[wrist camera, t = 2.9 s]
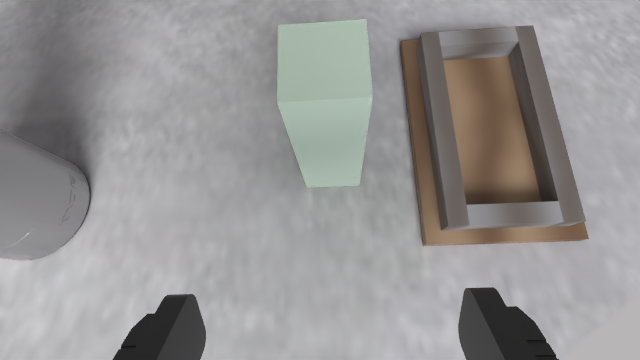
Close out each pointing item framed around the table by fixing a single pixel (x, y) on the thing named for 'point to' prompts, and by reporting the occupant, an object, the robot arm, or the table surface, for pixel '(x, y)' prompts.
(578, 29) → the table surface
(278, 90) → the pale green angular block
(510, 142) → the track
